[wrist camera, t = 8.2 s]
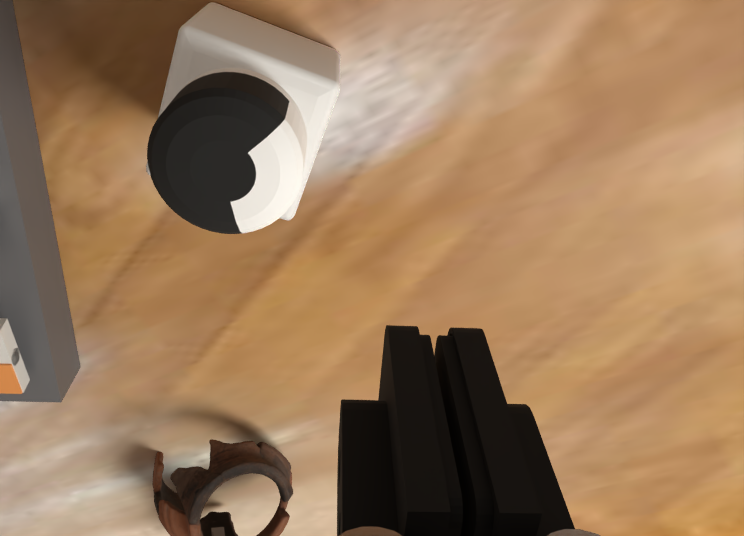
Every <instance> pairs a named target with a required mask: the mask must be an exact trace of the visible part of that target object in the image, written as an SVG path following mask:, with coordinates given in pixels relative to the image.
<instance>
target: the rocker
mask: <svg viewBox="0 0 744 536" xmlns="http://www.w3.org/2000/svg"><path fill="white" fill-rule="evenodd" d="M29 381H30V379H29V376H28V373H27V370H26V368H25V365H24V362H23V360H22V357H21V354H20V352H19V349H18V346H17V343H16V341H15V338H14V335H13V333H12V330H11V327H10V324H9V322H8V319H7V318H0V393H4V394H22V393H24V391H25V389H26V387H27V385H28V383H29Z"/></svg>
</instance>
